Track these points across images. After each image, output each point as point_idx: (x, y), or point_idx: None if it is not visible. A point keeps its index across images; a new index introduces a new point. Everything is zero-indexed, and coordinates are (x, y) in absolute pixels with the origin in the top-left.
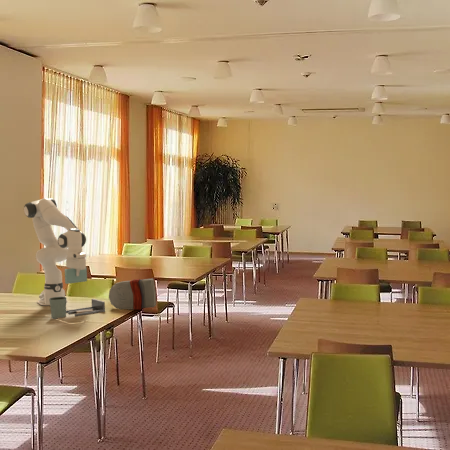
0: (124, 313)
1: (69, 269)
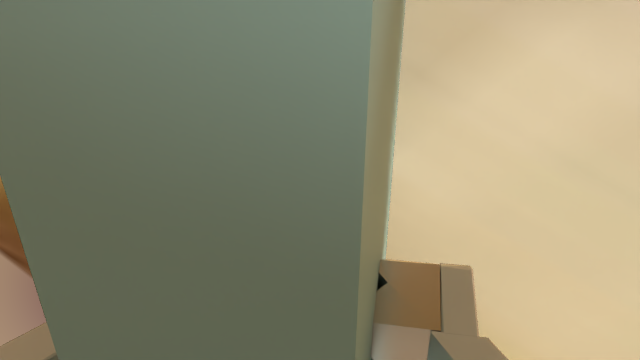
0: (6, 233)
1: (21, 151)
